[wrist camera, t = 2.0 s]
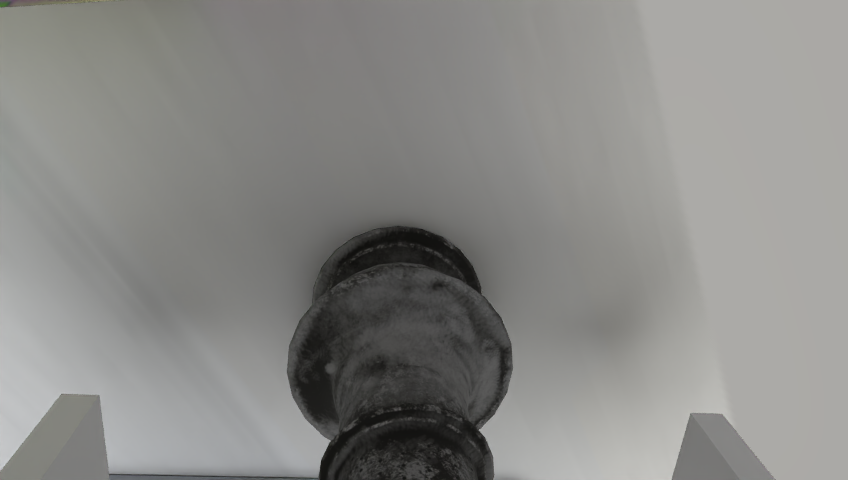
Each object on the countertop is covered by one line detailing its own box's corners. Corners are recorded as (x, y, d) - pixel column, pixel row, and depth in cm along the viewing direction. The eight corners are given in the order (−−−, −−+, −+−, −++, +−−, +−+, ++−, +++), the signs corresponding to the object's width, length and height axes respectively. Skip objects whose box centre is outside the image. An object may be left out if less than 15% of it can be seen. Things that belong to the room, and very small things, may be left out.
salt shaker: (529, 303, 20) (712, 707, 9) (396, 413, 21) (414, 884, 10) (398, 177, 18) (428, 490, 7) (262, 306, 19) (108, 740, 8)
